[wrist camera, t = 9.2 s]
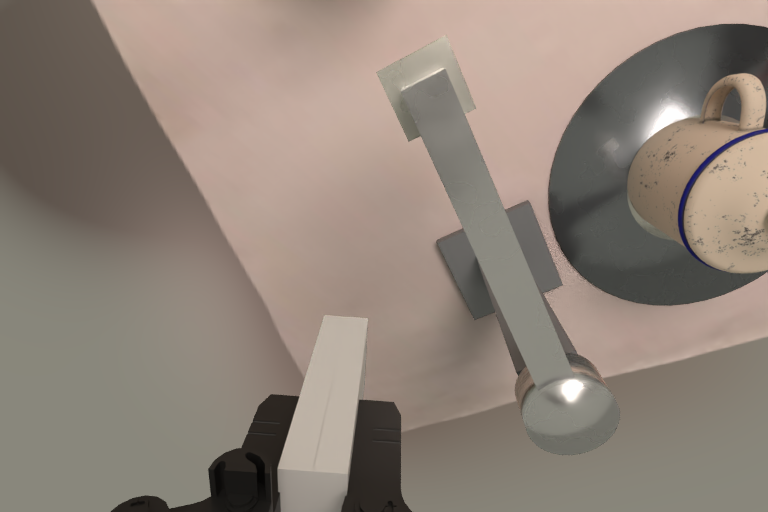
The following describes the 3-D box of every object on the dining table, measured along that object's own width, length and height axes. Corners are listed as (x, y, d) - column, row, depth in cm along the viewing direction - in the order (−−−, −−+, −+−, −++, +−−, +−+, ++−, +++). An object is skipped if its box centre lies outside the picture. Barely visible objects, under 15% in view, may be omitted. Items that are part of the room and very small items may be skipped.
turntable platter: (824, -40, 31) (827, -41, 31) (863, 241, 38) (865, 242, 38) (508, 113, 36) (508, 113, 36) (595, 339, 43) (596, 341, 43)
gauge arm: (594, 376, 27) (631, 437, 23) (521, 402, 28) (543, 465, 24) (455, 30, 21) (469, 22, 16) (366, 77, 22) (356, 83, 17)
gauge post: (527, 200, 38) (608, 294, 23) (559, 280, 41) (651, 414, 26) (436, 240, 40) (456, 353, 25) (473, 315, 43) (511, 459, 27)
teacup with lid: (736, 223, 38) (867, 286, 27) (619, 235, 39) (700, 302, 28) (760, 62, 34) (926, 63, 23) (627, 81, 34) (726, 89, 24)
